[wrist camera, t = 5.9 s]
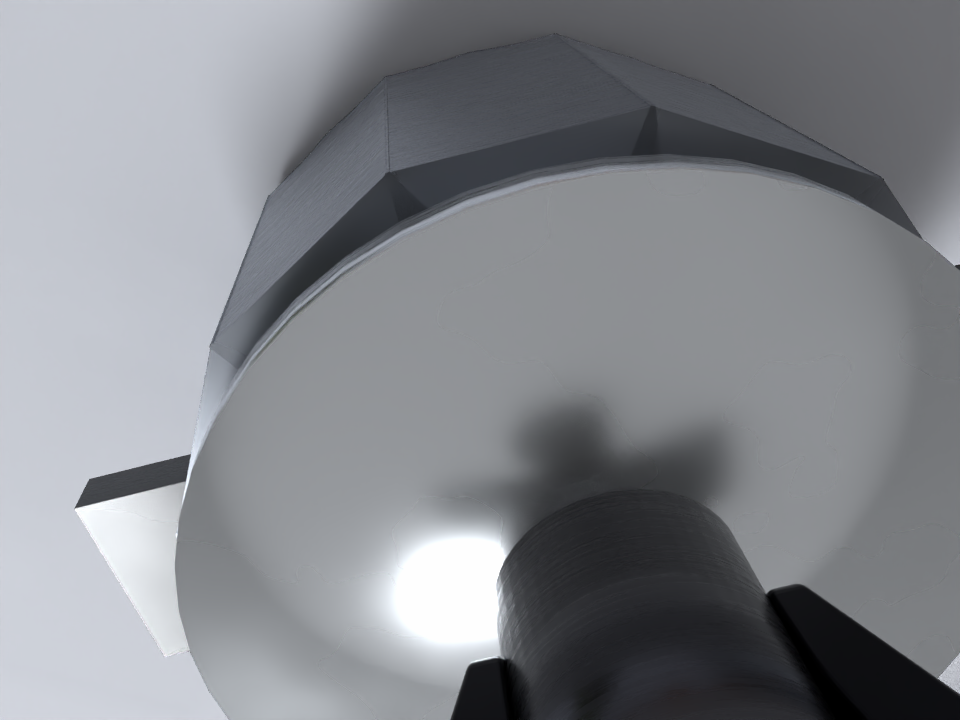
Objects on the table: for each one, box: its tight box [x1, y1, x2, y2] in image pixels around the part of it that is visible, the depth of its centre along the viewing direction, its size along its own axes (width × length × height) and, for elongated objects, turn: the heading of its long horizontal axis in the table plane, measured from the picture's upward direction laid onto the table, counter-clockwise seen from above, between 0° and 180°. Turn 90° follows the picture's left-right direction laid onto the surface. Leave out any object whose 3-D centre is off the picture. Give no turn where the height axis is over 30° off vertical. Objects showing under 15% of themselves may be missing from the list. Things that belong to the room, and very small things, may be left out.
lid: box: [175, 154, 960, 720], centre depth 9 cm, size 11×11×6 cm
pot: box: [75, 33, 960, 657], centre depth 14 cm, size 14×11×6 cm
